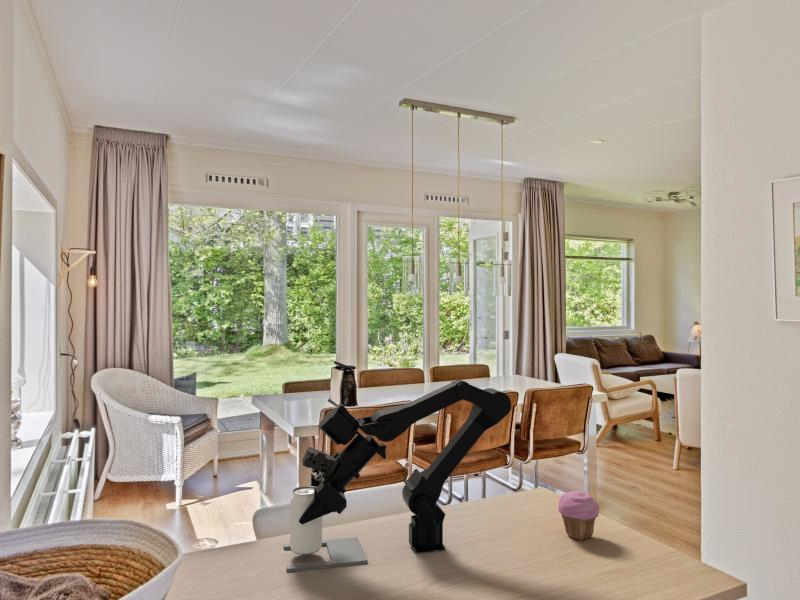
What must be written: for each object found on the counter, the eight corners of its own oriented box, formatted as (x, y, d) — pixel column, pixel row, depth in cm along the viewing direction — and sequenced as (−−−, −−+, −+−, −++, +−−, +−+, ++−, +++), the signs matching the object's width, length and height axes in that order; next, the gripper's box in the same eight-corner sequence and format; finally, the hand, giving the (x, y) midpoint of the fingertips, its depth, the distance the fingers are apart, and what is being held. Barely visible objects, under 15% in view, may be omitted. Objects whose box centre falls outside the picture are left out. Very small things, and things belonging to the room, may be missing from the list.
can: (315, 556, 112) (315, 496, 112) (285, 554, 113) (285, 494, 114) (326, 543, 118) (326, 486, 119) (297, 541, 120) (297, 484, 120)
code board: (357, 539, 124) (357, 536, 125) (367, 563, 113) (367, 560, 113) (283, 546, 120) (283, 543, 120) (286, 572, 109) (286, 568, 109)
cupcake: (583, 547, 121) (583, 501, 121) (550, 535, 128) (550, 490, 128) (606, 537, 126) (606, 492, 127) (573, 525, 133) (573, 483, 133)
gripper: (321, 425, 126) (271, 478, 124) (329, 444, 108) (270, 507, 105) (356, 458, 128) (307, 510, 125) (370, 482, 109) (313, 545, 107)
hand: (299, 517), depth 116 cm, fingers closed on can, 6 cm apart
